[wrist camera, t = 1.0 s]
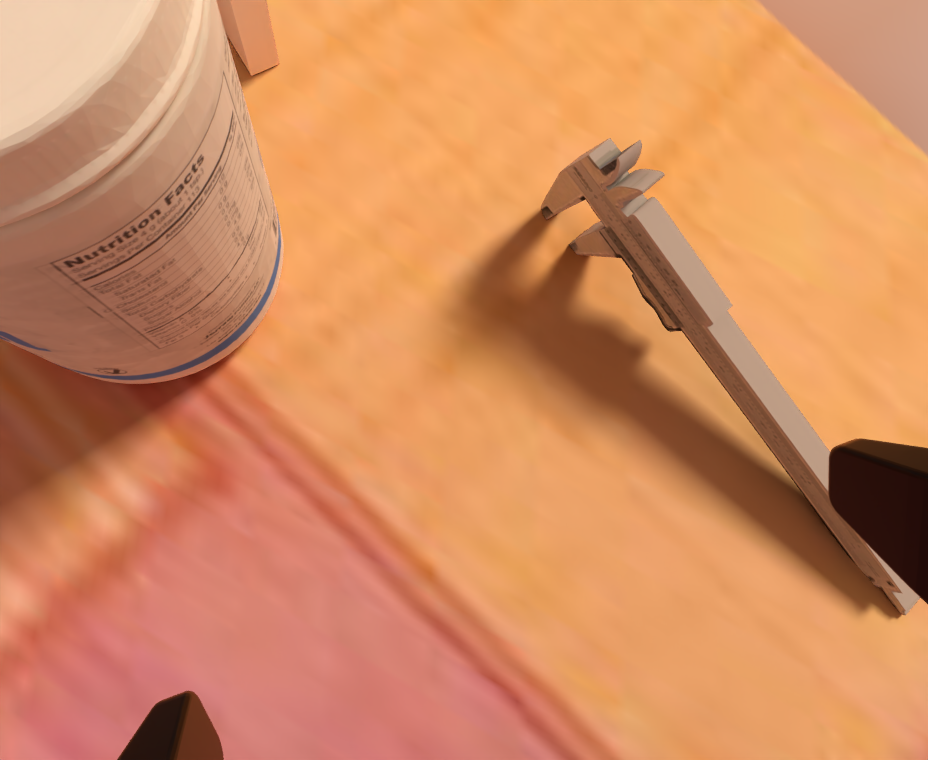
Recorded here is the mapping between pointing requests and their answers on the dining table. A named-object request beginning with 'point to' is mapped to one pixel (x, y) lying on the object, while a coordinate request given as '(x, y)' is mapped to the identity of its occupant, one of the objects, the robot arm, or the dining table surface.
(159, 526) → the dining table surface
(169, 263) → the supplement tub
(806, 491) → the caliper
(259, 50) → the cradle
